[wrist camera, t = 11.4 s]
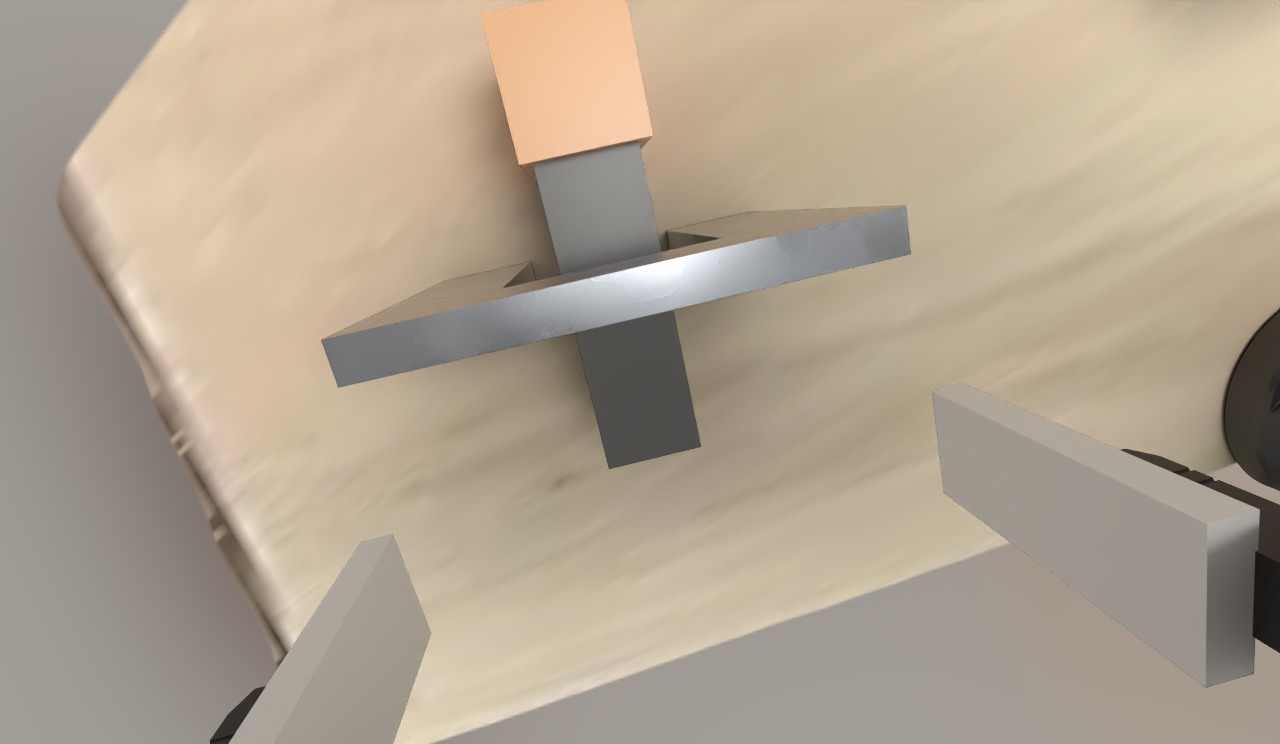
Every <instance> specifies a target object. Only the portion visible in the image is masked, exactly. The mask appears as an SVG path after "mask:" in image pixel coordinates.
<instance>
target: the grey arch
mask: <svg viewBox="0 0 1280 744" xmlns="http://www.w3.org/2000/svg"><path fill="white" fill-rule="evenodd" d="M667 236H668V241H669V246H670V250H668V251H663V252H659V253H655V254H650V255H646V256H642V257H637V258H633V259H629V260H624V261H620V262H615V263H611V264H607V265H602V266H598V267H594V268H589V269H585V270H580V271H576V272H572V273H567V274H563V275H559V276H554V277H550V278H546V279H541V280H537V281H536V280H535V276H534V272H533V269H532V265H531V262H526V263H522V264H518V265H513V266H509V267H504V268H500V269H496V270H491V271H487V272H482V273H478V274H474V275H469V276H465V277H460V278H456V279H452V280H447V281H444V282H442V283H439V284H437V285H435V286H433V287H431V288H429V289H427V290H425V291H423V292H421V293H418V294H416V295H414V296H412V297H410V298H408V299H406V300H404V301H402V302H400V303H397V304H395V305H393V306H391V307H389V308H387V309H385V310H383V311H381V312H379V313H376V314H374V315H372V316H370V317H368V318H366V319H364V320H362V321H360V322H358V323H355V324H353V325H351V326H349V327H347V328H345V329H343V330H341V331H339V332H337V333H334V334H332V335H330V336H328V337H326V338H324V339H322V340H321V341H322V344H323V347H324V349H325V352H326V355H327V358H328V360H329V363H330V366H331V369H332V372H333V374H334V377H335V380H336V383H337V385H338V388H339V387H344V386H348V385H352V384H357V383H361V382H365V381H369V380H374V379H378V378H382V377H386V376H391V375H395V374H399V373H404V372H408V371H412V370H416V369H421V368H425V367H429V366H434V365H438V364H442V363H446V362H451V361H455V360H459V359H464V358H468V357H472V356H476V355H481V354H485V353H489V352H494V351H498V350H502V349H506V348H511V347H515V346H519V345H524V344H528V343H532V342H536V341H541V340H545V339H549V338H554V337H558V336H562V335H566V334H571V333H575V332H579V331H584V330H588V329H592V328H596V327H601V326H605V325H609V324H614V323H618V322H622V321H626V320H631V319H635V318H639V317H644V316H648V315H652V314H656V313H661V312H665V311H669V310H674V309H678V308H682V307H686V306H691V305H695V304H699V303H703V302H708V301H712V300H716V299H721V298H725V297H729V296H733V295H738V294H742V293H746V292H751V291H755V290H759V289H763V288H768V287H772V286H776V285H781V284H785V283H789V282H793V281H798V280H802V279H806V278H811V277H815V276H819V275H823V274H828V273H832V272H836V271H841V270H845V269H849V268H853V267H858V266H862V265H866V264H871V263H875V262H879V261H883V260H888V259H892V258H896V257H901V256H905V255H909V254H911V250H910V240H909V230H908V220H907V210H906V205H905V206H880V207H854V208H829V209H804V210H778V211H753V212H746V213H742V214H737V215H733V216H728V217H724V218H720V219H715V220H711V221H707V222H702V223H698V224H693V225H689V226H685V227H680V228H676V229H671V230H667Z"/></svg>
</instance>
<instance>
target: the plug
mask: <svg viewBox="0 0 1280 744" xmlns="http://www.w3.org/2000/svg"><path fill="white" fill-rule="evenodd" d="M481 18H482V22H483V26H484V30H485V34H486V38H487V41H488V45H489V49H490V53H491V57H492V61H493V65H494V69H495V73H496V77H497V81H498V85H499V88H500V92H501V96H502V100H503V104H504V108H505V112H506V116H507V120H508V124H509V128H510V132H511V135H512V139H513V143H514V147H515V151H516V155H517V159H518V163H519V165H520V166H521V167H522V168H523V169H524V170H525V171H526V172H527V173H528V174H529V175H530V176H531V177H532V178H534V179H535V180H537V182H538V186H539V190H540V194H541V198H542V202H543V206H544V210H545V214H546V218H547V222H548V226H549V230H550V234H551V238H552V242H553V246H554V250H555V254H556V258H557V262H558V266H559V270H560V274H561V275H563V274H567V273H572V272H576V271H580V270H585V269H589V268H594V267H598V266H602V265H607V264H611V263H615V262H620V261H624V260H629V259H633V258H637V257H642V256H646V255H650V254H655V253H659V252H661V248H660V243H659V238H658V233H657V229H656V224H655V219H654V214H653V209H652V204H651V199H650V194H649V189H648V185H647V180H646V175H645V170H644V165H643V160H642V155H641V150H640V149H641V148H642V147H643V146H644V145H645V144H646V143H647V142H648V140H649V139H650V138H651V137H652V136H653V132H652V127H651V122H650V117H649V112H648V107H647V102H646V97H645V92H644V87H643V82H642V77H641V72H640V67H639V62H638V57H637V51H636V46H635V41H634V36H633V31H632V26H631V21H630V16H629V11H628V6H627V1H626V0H545V1H541V2H536V3H531V4H526V5H522V6H517V7H512V8H507V9H502V10H498V11H493V12H488V13H483V14H481ZM575 335H576V339H577V343H578V347H579V351H580V355H581V359H582V363H583V367H584V371H585V375H586V379H587V383H588V387H589V391H590V395H591V399H592V403H593V407H594V411H595V415H596V419H597V423H598V427H599V431H600V435H601V439H602V443H603V447H604V451H605V455H606V459H607V463H608V467H609V469H612V468H616V467H620V466H624V465H628V464H632V463H636V462H640V461H645V460H649V459H653V458H657V457H661V456H665V455H669V454H673V453H677V452H681V451H686V450H690V449H694V448H698V447H701V444H700V439H699V434H698V429H697V424H696V419H695V414H694V409H693V405H692V400H691V395H690V390H689V385H688V380H687V375H686V370H685V365H684V361H683V356H682V351H681V346H680V341H679V336H678V331H677V326H676V321H675V317H674V312H673V310H669V311H665V312H661V313H656V314H652V315H648V316H644V317H639V318H635V319H631V320H626V321H622V322H618V323H614V324H609V325H605V326H601V327H596V328H592V329H588V330H584V331H579V332H575Z"/></svg>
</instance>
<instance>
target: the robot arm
mask: <svg viewBox="0 0 1280 744" xmlns="http://www.w3.org/2000/svg"><path fill="white" fill-rule="evenodd" d="M932 397H933V405H934V414H935V423H936V431H937V440H938V449H939V457H940V466H941V474H942V483H943V492H944V493H945V494H946V495H947V496H949V497H950V498H951V499H953V500H954V501H955V502H957V503H958V504H959V505H961V506H962V507H963V508H965V509H966V510H967V511H969V512H970V513H971V514H973V515H974V516H975V517H977V518H978V519H979V520H981V521H982V522H984V523H985V524H986V525H988V526H989V527H990V528H992V529H993V530H994V531H996V532H997V533H998V534H1000V535H1001V536H1002V537H1004V538H1005V539H1006V540H1008V541H1009V542H1010V543H1012V544H1013V545H1014V546H1016V547H1017V548H1019V549H1020V550H1021V551H1023V552H1024V553H1025V554H1027V555H1028V556H1029V557H1031V558H1032V559H1033V560H1035V561H1036V562H1037V563H1039V564H1040V565H1041V566H1043V567H1044V568H1046V569H1047V570H1048V571H1049V572H1051V573H1052V574H1054V575H1055V576H1056V577H1058V578H1059V579H1060V580H1062V581H1063V582H1064V583H1066V584H1067V585H1068V586H1070V587H1071V588H1072V589H1074V590H1075V591H1076V592H1078V593H1079V594H1080V595H1082V596H1083V597H1085V598H1086V599H1087V600H1088V601H1090V602H1091V603H1092V604H1094V605H1095V606H1097V607H1098V608H1099V609H1101V610H1102V611H1103V612H1105V613H1106V614H1107V615H1109V616H1110V617H1111V618H1113V619H1114V620H1116V621H1117V622H1118V623H1120V624H1121V625H1122V626H1123V627H1125V628H1126V629H1127V630H1129V631H1130V632H1132V633H1133V634H1134V635H1136V636H1137V637H1138V638H1140V639H1141V640H1142V641H1144V642H1145V643H1146V644H1148V645H1149V646H1150V647H1152V648H1153V649H1154V650H1156V651H1157V652H1158V653H1160V654H1161V655H1163V656H1164V657H1165V658H1166V659H1168V660H1169V661H1170V662H1172V663H1173V664H1175V665H1176V666H1177V667H1179V668H1180V669H1181V670H1183V671H1184V672H1185V673H1187V674H1188V675H1189V676H1191V677H1192V678H1193V679H1195V680H1196V681H1197V682H1199V683H1200V684H1201V685H1203V686H1204V687H1210V686H1213V685H1217V684H1220V683H1223V682H1227V681H1230V680H1234V679H1237V678H1241V677H1244V676H1247V675H1251V674H1254V655H1255V638H1256V639H1258V640H1260V641H1261V642H1263V643H1264V644H1266V645H1268V646H1269V647H1271V648H1273V649H1274V650H1276V651H1277V652H1279V653H1280V505H1279V504H1276V503H1274V502H1271V501H1269V500H1266V499H1264V498H1261V497H1259V496H1256V495H1254V494H1251V493H1249V492H1247V491H1244V490H1242V489H1239V488H1237V487H1234V486H1232V485H1229V484H1227V483H1224V482H1222V481H1220V480H1218V481H1214V480H1213V478H1212V477H1210V476H1207V475H1205V474H1203V473H1200V472H1198V471H1195V470H1193V471H1190V470H1189V468H1188V467H1185V466H1183V465H1180V464H1178V463H1175V462H1173V461H1171V460H1168V459H1166V458H1163V457H1161V456H1157V455H1152V454H1147V453H1143V452H1138V451H1133V450H1128V449H1122V450H1119V449H1116V448H1114V447H1112V446H1109V445H1107V444H1105V443H1102V442H1100V441H1097V440H1095V439H1093V438H1090V437H1088V436H1086V435H1083V434H1081V433H1079V432H1076V431H1074V430H1072V429H1069V428H1067V427H1065V426H1062V425H1060V424H1058V423H1055V422H1053V421H1050V420H1048V419H1046V418H1043V417H1041V416H1039V415H1036V414H1034V413H1032V412H1029V411H1027V410H1025V409H1022V408H1020V407H1018V406H1015V405H1013V404H1010V403H1008V402H1006V401H1003V400H1001V399H999V398H996V397H994V396H992V395H989V394H987V393H985V392H982V391H980V390H978V389H975V388H973V387H971V386H968V385H966V384H963V383H960V384H956V385H952V386H948V387H945V388H941V389H937V390H933V391H932ZM1225 428H1226V435H1227V439H1228V443H1229V446H1230V449H1231V451H1232V454H1233V456H1234V458H1235V459H1236V461H1237V462H1238V464H1239V465H1240V467H1241V468H1242V469H1243V470H1244V471H1245V472H1246V473H1247V474H1248V475H1249V476H1251V477H1252V478H1253V479H1255V480H1256V481H1258V482H1260V483H1262V484H1264V485H1266V486H1269V487H1271V488H1274V489H1277V490H1279V491H1280V312H1279V313H1278V314H1277V315H1276V316H1274V317H1273V318H1272V319H1271V320H1270V321H1269V322H1268V323H1267V324H1266V325H1265V326H1264V328H1263V329H1262V330H1261V331H1260V332H1259V333H1258V335H1257V336H1256V337H1255V339H1254V340H1253V341H1252V343H1251V344H1250V346H1249V347H1248V349H1247V350H1246V352H1245V353H1244V355H1243V357H1242V359H1241V361H1240V363H1239V365H1238V367H1237V369H1236V371H1235V374H1234V376H1233V379H1232V382H1231V385H1230V388H1229V392H1228V396H1227V402H1226V410H1225ZM430 635H431V631H430V628H429V626H428V623H427V621H426V618H425V616H424V613H423V610H422V608H421V605H420V603H419V600H418V597H417V595H416V592H415V590H414V587H413V585H412V582H411V579H410V577H409V574H408V572H407V569H406V566H405V564H404V561H403V559H402V556H401V554H400V551H399V548H398V546H397V543H396V541H395V538H394V535H393V534H391V535H388V536H384V537H380V538H376V539H373V540H369V541H365V542H361V543H360V544H359V545H358V547H357V548H356V550H355V552H354V553H353V555H352V556H351V558H350V559H349V561H348V562H347V564H346V565H345V567H344V568H343V570H342V571H341V573H340V574H339V576H338V577H337V579H336V581H335V582H334V584H333V585H332V587H331V588H330V590H329V591H328V593H327V594H326V596H325V597H324V599H323V600H322V602H321V603H320V605H319V606H318V608H317V609H316V611H315V613H314V614H313V616H312V617H311V619H310V620H309V622H308V623H307V625H306V626H305V628H304V629H303V631H302V632H301V634H300V635H299V637H298V638H297V640H296V642H295V643H294V645H293V646H292V648H291V649H290V651H289V652H288V654H287V655H286V657H285V658H284V660H283V661H282V663H281V664H280V666H279V667H278V669H277V670H276V672H275V674H274V675H273V677H272V678H271V680H270V681H269V683H268V684H267V686H264V687H260V688H257V689H254V690H253V691H252V692H251V693H250V694H249V695H248V696H247V697H246V698H245V699H244V700H243V701H242V702H241V703H240V704H239V705H237V707H235V708H234V709H233V710H232V711H231V712H230V713H229V714H228V715H227V717H226V718H225V720H224V721H223V722H222V724H221V725H220V727H219V728H218V730H217V731H216V732H215V734H214V736H213V737H212V738H211V740H210V744H393V743H394V740H395V737H396V734H397V731H398V728H399V725H400V722H401V720H402V717H403V714H404V711H405V708H406V705H407V702H408V699H409V696H410V693H411V690H412V687H413V685H414V682H415V679H416V676H417V673H418V670H419V667H420V664H421V661H422V658H423V655H424V652H425V649H426V647H427V644H428V641H429V638H430Z"/></svg>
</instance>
